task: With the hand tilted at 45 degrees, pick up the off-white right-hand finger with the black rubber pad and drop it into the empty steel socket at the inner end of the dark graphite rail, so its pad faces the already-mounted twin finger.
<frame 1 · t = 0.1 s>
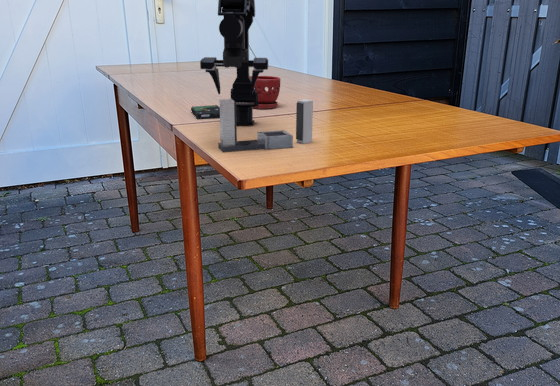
hand: (235, 94, 154), 15 cm above the table, tool pointing down, fingers open, 9 cm apart
plant pot: (263, 107, 216), on the table
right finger: (303, 142, 161), on the table
disk drive: (207, 116, 200), on the table
rail: (274, 145, 157), on the table
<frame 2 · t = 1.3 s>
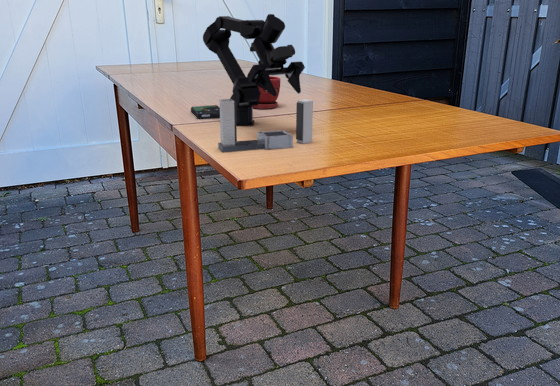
hand: (287, 94, 162), 13 cm above the table, tool tilted 45°, fingers open, 9 cm apart
nothing on the table moved.
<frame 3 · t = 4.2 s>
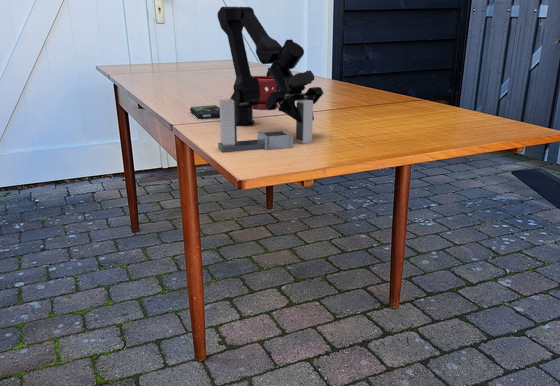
hand: (307, 121, 158), 7 cm above the table, tool tilted 45°, fingers closed on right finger, 4 cm apart
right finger: (303, 142, 161), on the table, touching gripper
everything else where it was.
when the fingers open (9 cm above the table, at t = 8.4 s): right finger stays where it is, resting on rail.
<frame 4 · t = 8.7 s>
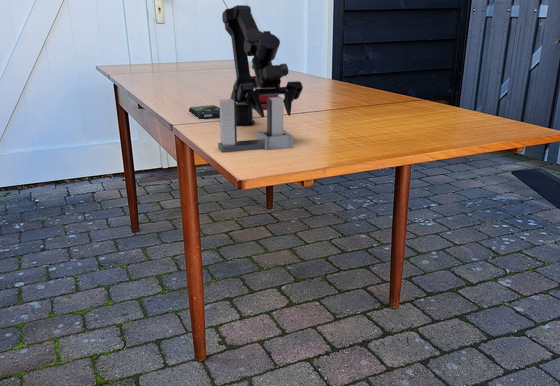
hand: (276, 115, 153), 9 cm above the table, tool tilted 45°, fingers open, 8 cm apart
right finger: (274, 140, 157), point 1 cm above the table, touching rail
everything else where it was.
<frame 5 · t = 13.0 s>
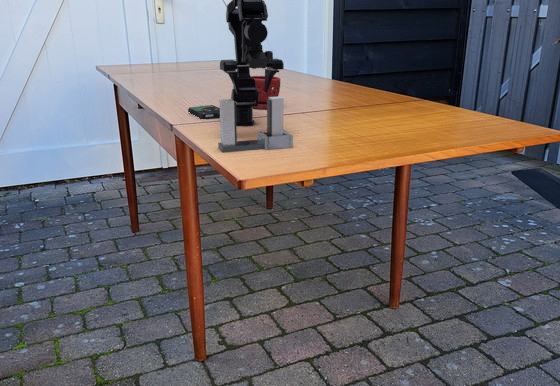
hand: (252, 93, 166), 13 cm above the table, tool pointing down, fingers open, 9 cm apart
nothing on the table moved.
at the end: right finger 0.0 cm off-centre on the rail, point 1.5 cm above the rail's base; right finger tilted 0°; the gripper is holding nothing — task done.
